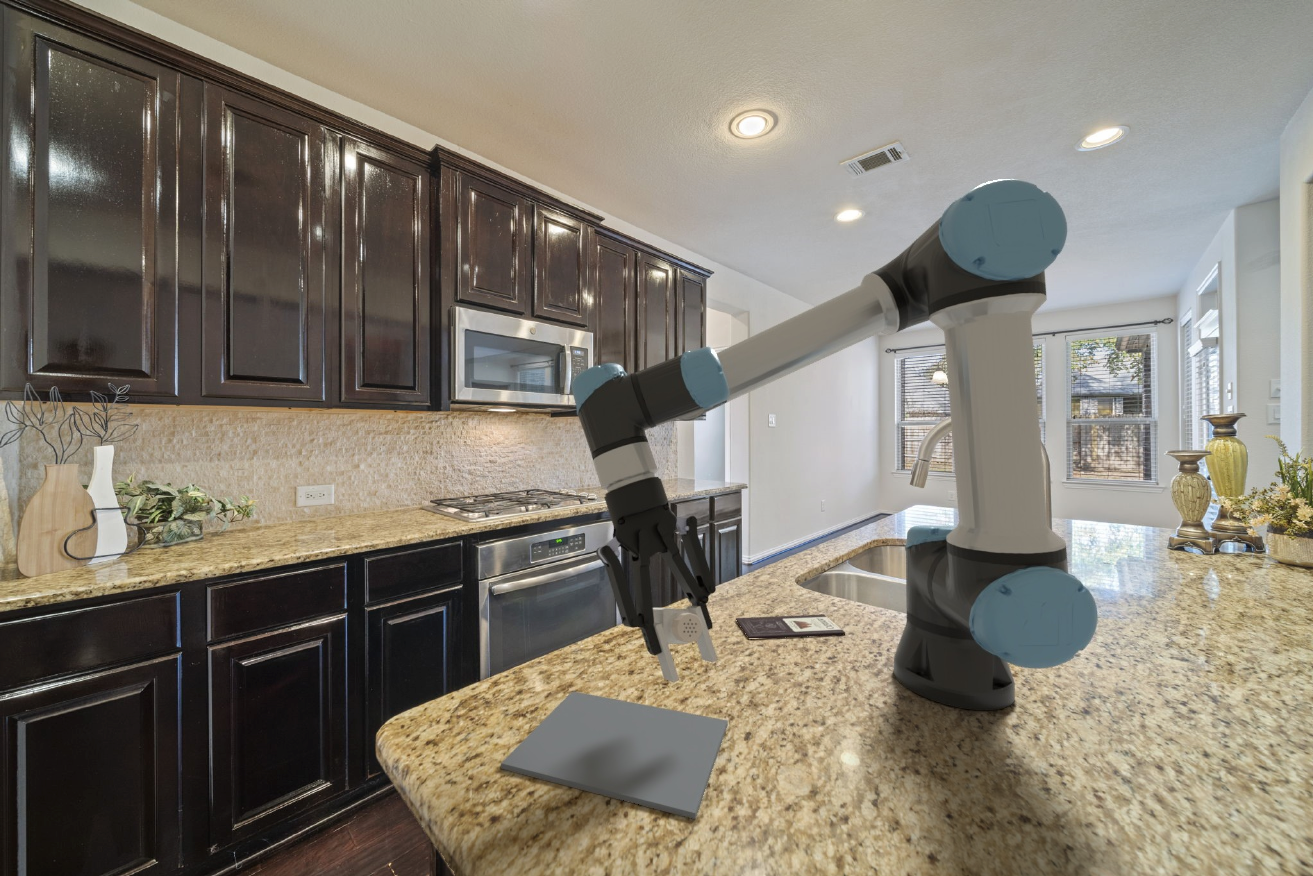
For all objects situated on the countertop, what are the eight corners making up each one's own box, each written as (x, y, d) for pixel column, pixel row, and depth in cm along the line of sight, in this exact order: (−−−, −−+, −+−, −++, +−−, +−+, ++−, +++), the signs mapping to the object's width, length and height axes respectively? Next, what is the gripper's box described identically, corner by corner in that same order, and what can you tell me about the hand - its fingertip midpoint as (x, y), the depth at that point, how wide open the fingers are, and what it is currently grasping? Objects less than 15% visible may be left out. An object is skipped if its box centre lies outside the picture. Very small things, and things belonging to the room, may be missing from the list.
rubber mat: (727, 725, 62) (727, 720, 62) (695, 819, 46) (695, 813, 46) (572, 695, 69) (572, 691, 69) (500, 768, 54) (500, 763, 54)
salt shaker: (644, 607, 64) (674, 609, 56) (672, 608, 66) (705, 609, 58) (643, 640, 63) (673, 646, 55) (671, 640, 65) (705, 646, 56)
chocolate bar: (735, 618, 96) (823, 614, 98) (735, 622, 96) (823, 619, 98) (749, 636, 87) (845, 632, 89) (749, 642, 87) (845, 637, 89)
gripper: (678, 472, 69) (734, 637, 66) (558, 508, 61) (614, 697, 58) (702, 460, 63) (766, 642, 59) (571, 497, 55) (635, 710, 51)
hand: (691, 668), depth 58 cm, fingers closed on salt shaker, 5 cm apart
